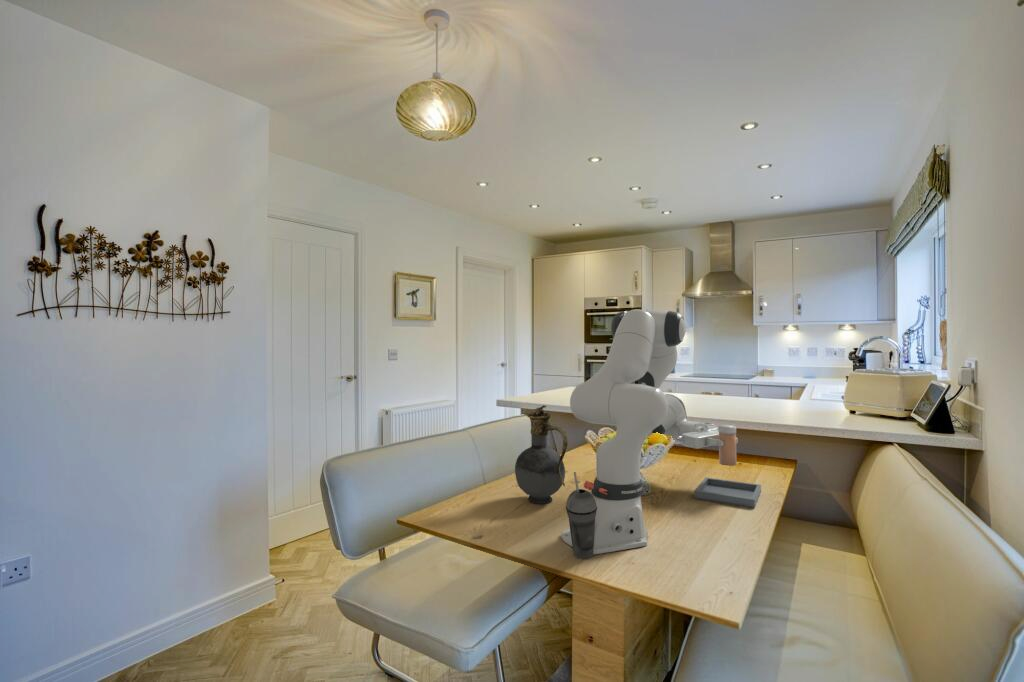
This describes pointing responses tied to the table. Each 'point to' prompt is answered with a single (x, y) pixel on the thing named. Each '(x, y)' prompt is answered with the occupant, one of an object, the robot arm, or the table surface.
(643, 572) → the table surface
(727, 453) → the shaker
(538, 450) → the pitcher
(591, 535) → the beverage cup
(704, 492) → the tray
